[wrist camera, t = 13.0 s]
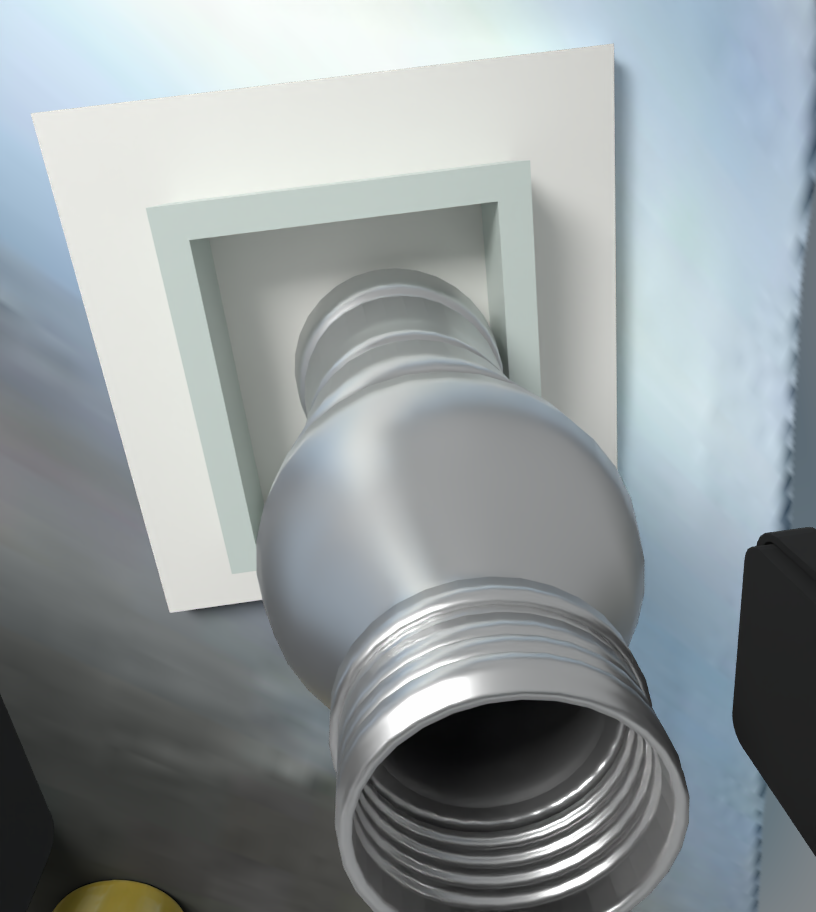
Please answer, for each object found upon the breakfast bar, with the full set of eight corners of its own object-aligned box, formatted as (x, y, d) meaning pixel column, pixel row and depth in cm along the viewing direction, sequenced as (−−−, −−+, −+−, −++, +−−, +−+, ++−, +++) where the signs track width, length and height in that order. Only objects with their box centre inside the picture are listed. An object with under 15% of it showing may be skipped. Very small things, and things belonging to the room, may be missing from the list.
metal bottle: (389, 215, 24) (528, 380, 6) (525, 354, 26) (951, 808, 8) (259, 354, 26) (31, 856, 7) (398, 476, 28) (506, 1109, 9)
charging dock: (43, 115, 23) (-14, 106, 20) (603, 48, 24) (650, 26, 20) (175, 598, 30) (151, 660, 26) (609, 538, 31) (645, 589, 27)
